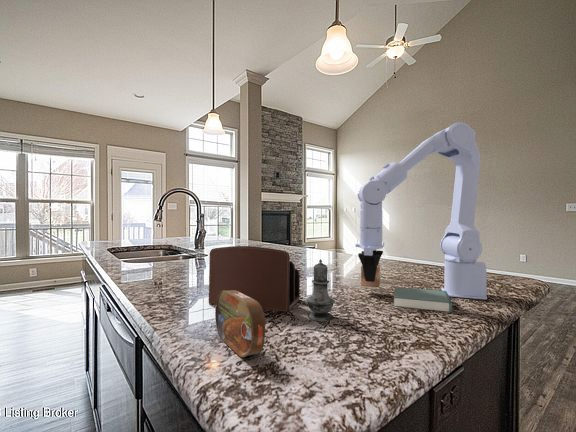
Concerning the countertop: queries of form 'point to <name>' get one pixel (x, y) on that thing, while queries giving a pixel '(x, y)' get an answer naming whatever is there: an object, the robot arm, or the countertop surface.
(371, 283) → the block
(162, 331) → the countertop surface
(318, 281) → the salt shaker
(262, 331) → the tin
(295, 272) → the letter holder
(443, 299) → the book
